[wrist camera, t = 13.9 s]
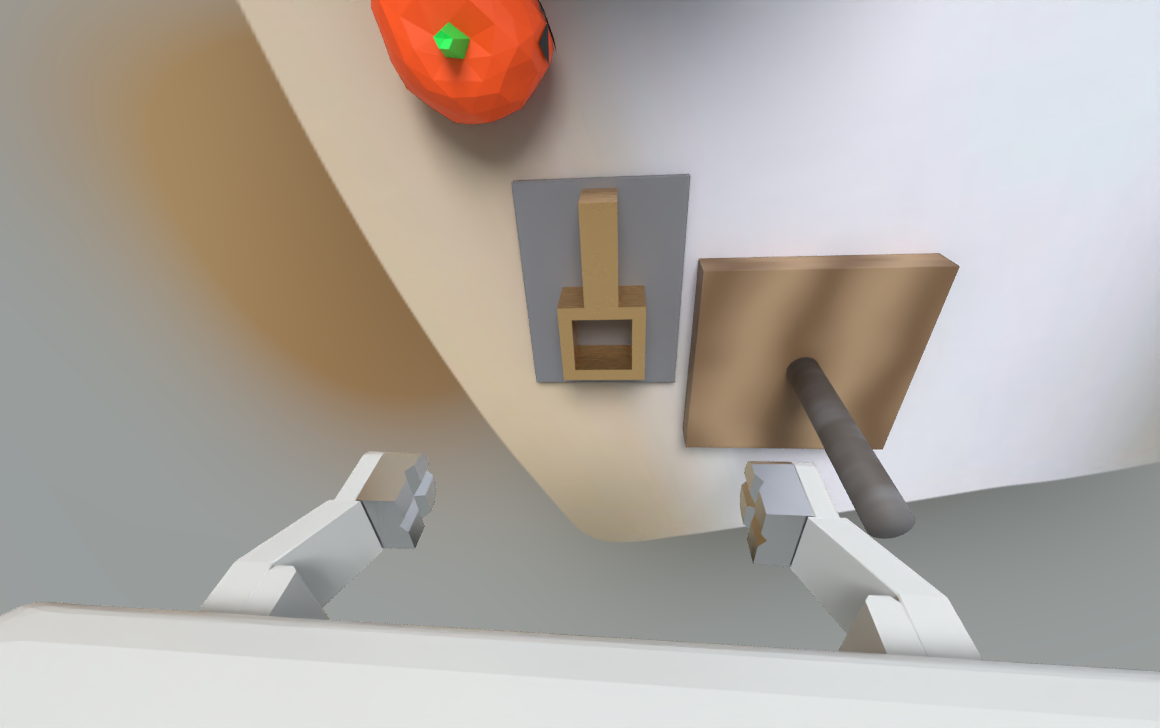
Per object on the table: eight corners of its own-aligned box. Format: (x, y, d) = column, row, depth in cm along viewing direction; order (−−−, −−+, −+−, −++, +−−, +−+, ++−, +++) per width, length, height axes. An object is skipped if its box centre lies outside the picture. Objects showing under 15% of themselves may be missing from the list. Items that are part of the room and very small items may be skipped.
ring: (646, 186, 26) (648, 200, 24) (642, 354, 32) (644, 379, 30) (554, 190, 27) (547, 204, 24) (568, 355, 33) (563, 380, 30)
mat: (688, 173, 26) (690, 176, 26) (673, 377, 34) (674, 382, 34) (513, 180, 27) (511, 183, 27) (537, 377, 35) (536, 382, 34)
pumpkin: (434, -112, 21) (370, -167, 15) (582, 19, 23) (570, 10, 18) (375, 48, 24) (305, 48, 19) (508, 148, 26) (479, 174, 21)
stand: (939, 253, 28) (1167, 400, 16) (870, 430, 36) (990, 615, 24) (698, 258, 29) (751, 398, 17) (682, 429, 37) (711, 604, 25)
